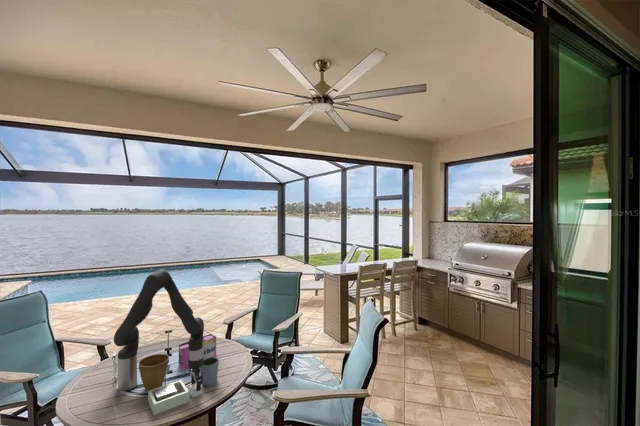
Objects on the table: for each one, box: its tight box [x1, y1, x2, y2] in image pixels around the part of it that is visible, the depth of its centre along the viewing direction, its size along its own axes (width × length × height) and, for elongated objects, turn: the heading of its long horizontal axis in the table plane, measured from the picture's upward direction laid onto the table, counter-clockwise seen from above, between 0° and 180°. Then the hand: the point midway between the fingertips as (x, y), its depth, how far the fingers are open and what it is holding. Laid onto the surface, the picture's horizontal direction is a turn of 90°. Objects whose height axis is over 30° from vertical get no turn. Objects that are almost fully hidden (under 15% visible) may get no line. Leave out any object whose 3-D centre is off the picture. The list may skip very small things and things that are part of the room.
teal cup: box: [200, 357, 220, 387], centre depth 173 cm, size 10×10×12 cm
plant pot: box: [137, 353, 170, 392], centre depth 167 cm, size 15×15×16 cm
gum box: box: [178, 333, 217, 371], centre depth 197 cm, size 24×8×14 cm, turn 142°
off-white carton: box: [189, 383, 203, 398], centre depth 161 cm, size 5×5×5 cm
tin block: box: [154, 385, 177, 402], centre depth 153 cm, size 7×9×6 cm
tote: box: [147, 379, 190, 416], centre depth 154 cm, size 14×16×6 cm
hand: (196, 387), depth 160 cm, fingers open, 8 cm apart
